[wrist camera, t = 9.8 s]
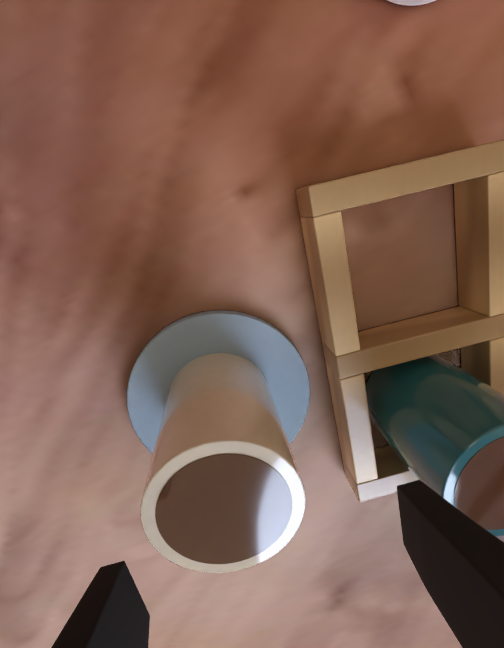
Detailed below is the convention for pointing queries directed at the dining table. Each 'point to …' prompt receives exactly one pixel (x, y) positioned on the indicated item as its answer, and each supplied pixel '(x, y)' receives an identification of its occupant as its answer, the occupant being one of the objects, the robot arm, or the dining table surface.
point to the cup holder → (416, 333)
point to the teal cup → (445, 432)
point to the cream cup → (221, 470)
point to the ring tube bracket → (411, 2)
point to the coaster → (208, 338)
